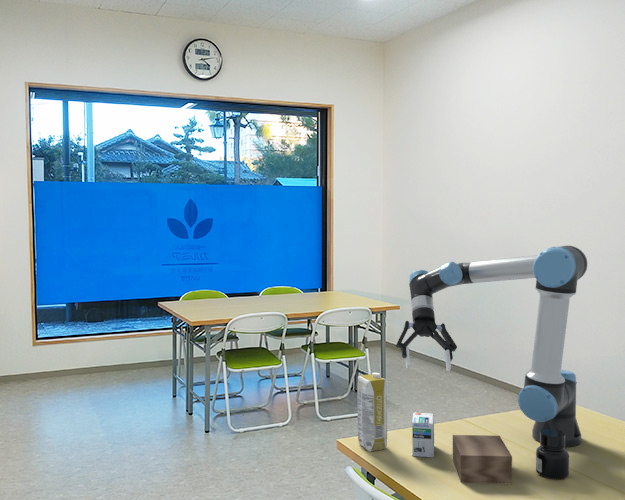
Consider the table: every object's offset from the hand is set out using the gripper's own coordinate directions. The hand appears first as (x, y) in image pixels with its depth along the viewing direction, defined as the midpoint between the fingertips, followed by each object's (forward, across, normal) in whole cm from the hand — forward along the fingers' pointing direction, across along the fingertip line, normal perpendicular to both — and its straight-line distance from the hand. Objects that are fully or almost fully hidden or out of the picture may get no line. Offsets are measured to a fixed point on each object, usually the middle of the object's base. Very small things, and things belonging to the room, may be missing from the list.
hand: (428, 368), depth 201 cm
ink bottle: (+34, -31, +7) cm, 47 cm away
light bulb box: (+24, +1, -11) cm, 26 cm away
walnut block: (+33, -12, +3) cm, 35 cm away
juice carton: (+21, +16, -16) cm, 31 cm away
